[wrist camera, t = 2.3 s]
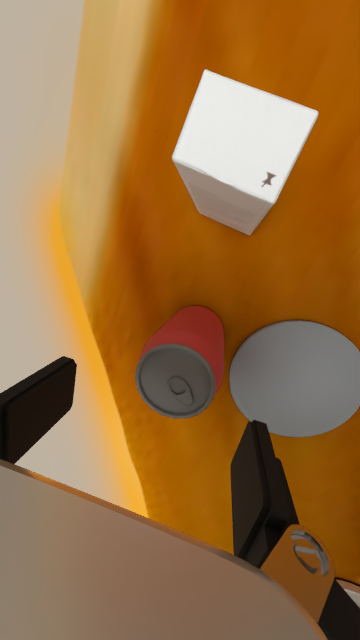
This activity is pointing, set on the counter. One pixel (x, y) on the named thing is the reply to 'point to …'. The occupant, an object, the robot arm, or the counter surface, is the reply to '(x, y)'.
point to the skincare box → (239, 149)
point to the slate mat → (296, 378)
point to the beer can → (183, 363)
